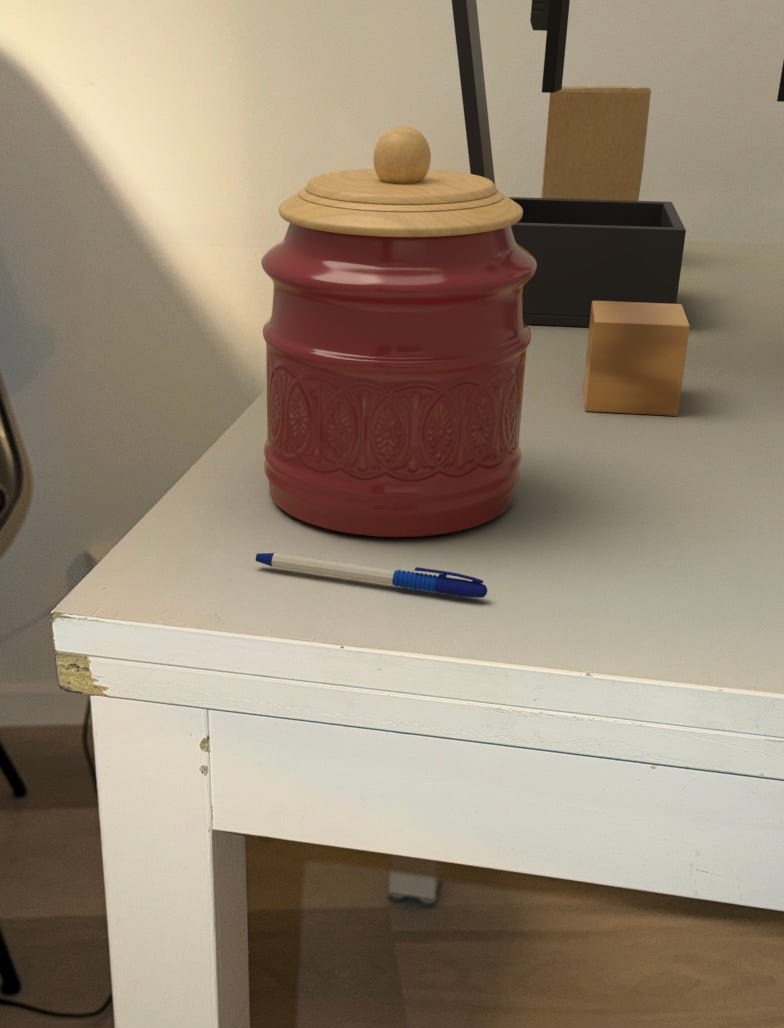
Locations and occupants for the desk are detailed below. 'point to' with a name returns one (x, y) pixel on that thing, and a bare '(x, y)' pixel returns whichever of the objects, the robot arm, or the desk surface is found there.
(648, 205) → the dark grey storage bin
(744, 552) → the desk surface
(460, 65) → the black box cover
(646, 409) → the block
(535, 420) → the desk surface
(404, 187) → the kitchen canister
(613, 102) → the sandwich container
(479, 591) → the ballpoint pen
